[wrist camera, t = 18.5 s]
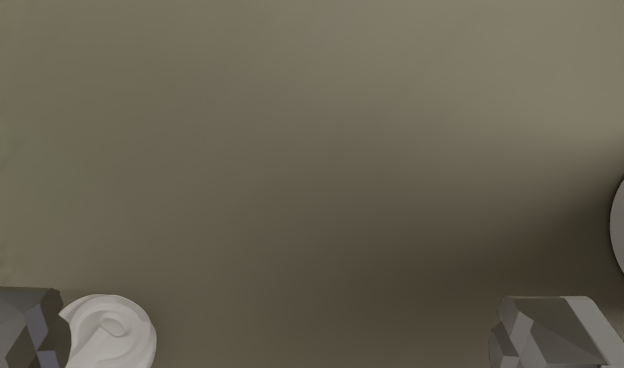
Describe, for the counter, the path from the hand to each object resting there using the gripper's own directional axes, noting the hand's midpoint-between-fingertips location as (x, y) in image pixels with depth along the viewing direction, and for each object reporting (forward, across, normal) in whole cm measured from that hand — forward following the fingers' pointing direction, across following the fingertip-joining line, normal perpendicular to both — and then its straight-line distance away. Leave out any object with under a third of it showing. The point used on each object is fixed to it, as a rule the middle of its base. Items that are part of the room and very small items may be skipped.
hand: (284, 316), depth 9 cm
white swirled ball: (+23, +14, +26) cm, 37 cm away
